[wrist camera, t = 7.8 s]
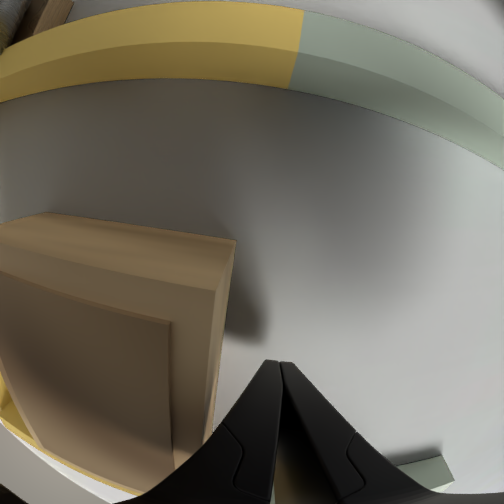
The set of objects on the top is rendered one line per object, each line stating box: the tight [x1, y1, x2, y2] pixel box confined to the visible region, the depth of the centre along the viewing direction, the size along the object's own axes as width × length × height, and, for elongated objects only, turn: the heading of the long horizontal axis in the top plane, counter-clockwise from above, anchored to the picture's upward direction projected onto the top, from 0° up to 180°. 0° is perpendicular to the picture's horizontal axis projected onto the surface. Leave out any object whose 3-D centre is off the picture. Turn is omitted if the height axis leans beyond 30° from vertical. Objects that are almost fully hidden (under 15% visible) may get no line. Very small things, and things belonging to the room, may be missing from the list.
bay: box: [0, 1, 504, 504], centre depth 8 cm, size 18×28×2 cm, turn 81°
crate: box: [0, 212, 237, 494], centre depth 7 cm, size 9×7×4 cm
